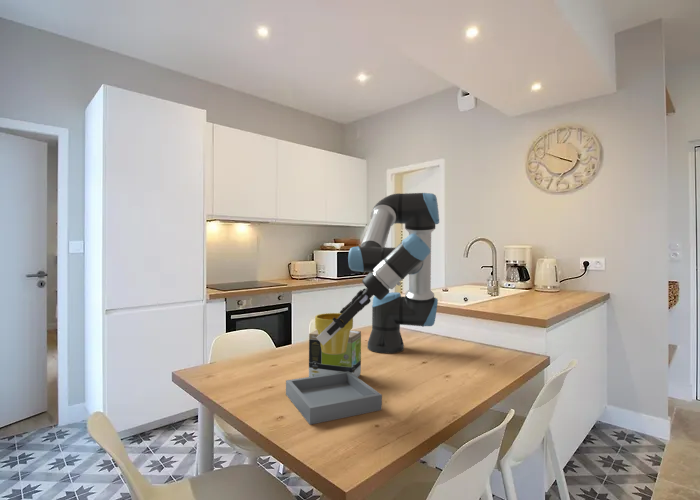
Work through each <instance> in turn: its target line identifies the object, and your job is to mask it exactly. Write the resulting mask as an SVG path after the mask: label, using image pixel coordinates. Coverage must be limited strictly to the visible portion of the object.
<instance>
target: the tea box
mask: <svg viewBox="0 0 700 500" xmlns="http://www.w3.org/2000/svg"><path fill="white" fill-rule="evenodd" d="M317 336H318V330H317V329H315V330H313V331H312V332H310V333H309V334H308V377H313V376H319V375H326V374H333V373H340V372H347V371H349V372H350V373H352V374H353V375H355V376H356V377H357V378H359V377H360V375H361V371H362V370H361V369H362V331H361V330H352V329H351V330H350V334H349V339H348V344H347V349H346V352H345V353H343V354H337V355H331V354H325V353H323V352H322V349H321V344H320V342H319V340H318V339H317V338H316V337H317Z"/></svg>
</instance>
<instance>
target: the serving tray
mask: <svg viewBox="0 0 700 500" xmlns="http://www.w3.org/2000/svg"><path fill="white" fill-rule="evenodd" d="M285 395H286V397H288V399H289V400H290V401H291V403H292V405H294V407H295V408H296V409H297V410H298V412H299V413H300V414H301V415H302V417H303V418H304V419H305V421H306V422H307V423H308V424H309V426H310V425H315V424H320V423H324V422H330V421H334V420H335V421H336V420H339V419H343V418H344V419H345V418H349V417H353V416H358V415H359V416H360V415H363V414H368V413H373V412H377V411H382V407H383V405H382V404H383V394H381V393H380V392H379V391H377V390H376V389H374V388H373V387H372V386H370V385H369V384H367V383H366V382H364V381H363V380H362V379H360V378H359V377H356V376H355V375H353V374H352V373H350V372H349V371H347V372H340V373H333V374H326V375H319V376H313V377H309V376H307V377H306V376H305V377H299V378H292V379H286V380H285Z"/></svg>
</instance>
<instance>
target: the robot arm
mask: <svg viewBox="0 0 700 500" xmlns="http://www.w3.org/2000/svg"><path fill="white" fill-rule="evenodd" d="M370 219H371V220H370V222H369V224H368V227H367V229H366V232H365V234H364V237H363V239H362V242H361V243H360V246H353V247H350V248H349V251H348V257H347V259H348V260H347V261H348V268H349V269H350V270H351V271H353V272H361V273H368V274H367V275H366V276H364V277H363V278H362V280H361V281H362V284H363V285H364V286H365V288H363V289H360V290H358V292H356V295H354V296H353V298H351V301H349V302H348V303H347V304H346V305H345V306H344V307H342V309H341V310H340V311H339V313H342V314H341V315H340V316H339V317H338V318H337V319H336V318H335V317H334V318H333V319H332V320H333V322H332V323H331V324H330V325H329V326H328V327H327V328H326V329H325V330H324V331H323V332H321V333H320V334H319V335H318V336H317V337H316V338H317V339H318V340H319V342H320V343H321V344H322V345H324V344H325V343H326V342H327V341H329V340H330V339H331V338H332V337H333V336H334V335H335V334H336V333H337V332H338V331H339V330H340V329H341V328H344V327H345V325H346V324H347V323H348V322H349V321H350V320H351V319H352V318H353V319H354V317H355V316H356V315H357V314H358V313H359V312H360V311H362V310H363V309H364V308H365V307H367V306H368V305H369V304H370V303H371V301H372V305H371V308H372V309H371V310H372V311H371V312H372V314H371V315H372V317H371V318H372V319H371V322H372V323H371V332H370V334H369V337H368V340H367V350H369V351H372V352H373V353H374V352H375V353H378V354H379V353H381V354H396V353H401V352H402V351H404V347H405V345H404V344H405V343H404V340H403V337H402V334H401V325H402V326H403V325H404V326H415V327H432V326H434V324H435V321H436V317H437V311H438V303H439V299H438V297H435V293H434V292H433V290H432V289H431V287H432V285H431V284H432V281H431V280H432V277H431V275H432V233H433V232H434V230H435V229H436V225H438V224H440V214H439V205H438V199H437V195H436V194H434V193H431V192H430V193H427V192H409V193H406V192H405V193H393V194H390V195H387V196H385V197H384V198H383V197H382V199H381V200H379V201H377V202H376V204H375V205H374V207H372V209H371V212H370ZM395 224H400V225H404V229H405V230H406V231H407V232H408V236H407V237H406V238H403V239H402V241H401V242H400V243H399V244H398V245H397V246H396V247H386V244H387V240H388V237H389V234H390V231H391V227H392V226H393V225H395ZM407 276H408V290H407V291H406V292H405V293H404V295H405V296H402V294H401V292H397V291H396V292H390V290H394V288H396V287H397V286H401V282H402V281H403V279H405V277H407ZM371 298H372V299H371ZM340 319H341V320H342V321H343V322H342V321H341V320H340Z"/></svg>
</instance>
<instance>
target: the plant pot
mask: <svg viewBox="0 0 700 500" xmlns="http://www.w3.org/2000/svg"><path fill="white" fill-rule="evenodd" d="M341 314H342V313H340V312H329V313H326V312H325V313H321V314H317V315H315V317H314V326H315V327H314V328H315V330H318V335H319V334H320V333H321V332H323V331H324V330H325V329H326V328H327V327H328V326H329V325H330V324H331V323H332V322H333V320H332V319H333V318H334V317H335V318H336V319H337V318H338V317H339V316H340V315H341ZM340 320H341V319H340ZM341 321H342V320H341ZM342 322H343V321H342ZM353 327H354V317H353V318H352V319H351V320H350V321H349V322H348V323H347V324H346V325H345V327H344V328H341V329H340V330H339V331H338V332H337V333H336V334H335V335H334V336H333V337H332V338H331V339H330V340H329V341H327V342H326V343H325V344H324V345H322V344H321V343H320V344H321V349H322V352H323V353H325V354H331V355H337V354H343V353H345V352H346V349H347V344H348V339H349V334H350V330H352V329H353Z"/></svg>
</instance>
